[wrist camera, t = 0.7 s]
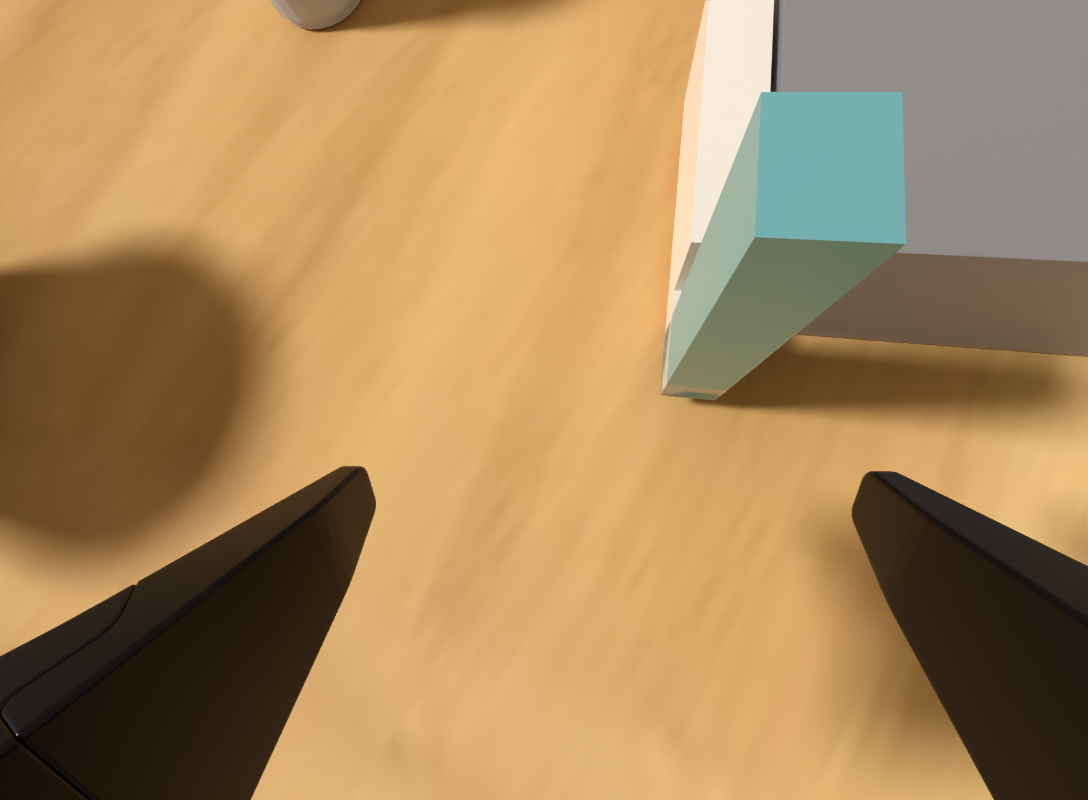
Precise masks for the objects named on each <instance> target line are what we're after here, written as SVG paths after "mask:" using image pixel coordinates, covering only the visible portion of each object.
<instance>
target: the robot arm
mask: <svg viewBox="0 0 1088 800" xmlns="http://www.w3.org/2000/svg"><path fill="white" fill-rule="evenodd" d="M375 508H376V500H375V496H374V492H373V489H372V486H371V483H370V479H369V476H368V473H367V471H366V469H365V468H364V467H361V466H343V467H340V468H338V469H336V470H334V471H333V472H331V473H329V474H327V475H326V476H324V477H322V478H320V479H319V480H317V481H315V482H313V483H311V484H310V485H308V486H306V487H304V488H303V489H301V490H299V491H297V492H296V493H294V494H292V495H290V496H289V497H287V498H285V499H283V500H281V501H280V502H278V503H276V504H274V505H273V506H271V507H269V508H267V509H266V510H264V511H262V512H260V513H258V514H257V515H255V516H253V517H251V518H250V519H248V520H246V521H244V522H243V523H241V524H239V525H237V526H235V527H234V528H232V529H230V530H228V531H227V532H225V533H223V534H221V535H220V536H218V537H216V538H214V539H213V540H211V541H209V542H207V543H205V544H204V545H202V546H200V547H198V548H197V549H195V550H193V551H191V552H190V553H188V554H186V555H184V556H182V557H181V558H179V559H177V560H175V561H174V562H172V563H170V564H168V565H167V566H165V567H163V568H161V569H159V570H158V571H156V572H154V573H152V574H151V575H149V576H147V577H145V578H144V579H142V580H140V581H139V582H138V583H137V585H131V586H129V587H127V588H126V589H124V590H122V591H120V592H119V593H117V594H115V595H113V596H112V597H110V598H108V599H106V600H105V601H103V602H101V603H99V604H97V605H95V606H94V607H92V608H90V609H88V610H86V611H85V612H83V613H81V614H79V615H77V616H76V617H74V618H72V619H70V620H68V621H66V622H65V623H63V624H61V625H59V626H57V627H55V628H53V629H52V630H50V631H48V632H46V633H44V634H42V635H40V636H38V637H36V638H34V639H32V640H31V641H29V642H27V643H25V644H23V645H21V646H19V647H17V648H15V649H13V650H11V651H9V652H8V653H6V654H4V655H2V656H0V800H251V798H252V796H253V794H254V792H255V789H256V787H257V785H258V783H259V781H260V779H261V776H262V774H263V772H264V770H265V768H266V766H267V763H268V761H269V759H270V757H271V755H272V752H273V750H274V748H275V746H276V744H277V742H278V739H279V737H280V735H281V733H282V731H283V729H284V726H285V724H286V722H287V720H288V718H289V716H290V713H291V711H292V709H293V707H294V705H295V703H296V700H297V698H298V696H299V694H300V692H301V690H302V687H303V685H304V683H305V681H306V679H307V677H308V674H309V672H310V670H311V668H312V666H313V664H314V661H315V659H316V657H317V655H318V653H319V651H320V648H321V646H322V644H323V642H324V640H325V638H326V635H327V633H328V631H329V629H330V627H331V625H332V622H333V620H334V618H335V616H336V614H337V612H338V609H339V607H340V605H341V603H342V601H343V599H344V596H345V594H346V592H347V589H348V587H349V585H350V582H351V580H352V577H353V574H354V572H355V569H356V566H357V563H358V560H359V557H360V554H361V551H362V548H363V545H364V542H365V539H366V536H367V533H368V531H369V528H370V525H371V522H372V519H373V516H374V513H375ZM852 519H853V522H854V525H855V527H856V530H857V532H858V535H859V537H860V539H861V542H862V544H863V547H864V549H865V551H866V554H867V556H868V559H869V561H870V564H871V566H872V568H873V571H874V573H875V576H876V578H877V580H878V583H879V585H880V588H881V590H882V592H883V594H884V597H885V599H886V601H887V603H888V605H889V607H890V609H891V611H892V613H893V615H894V617H895V619H896V621H897V623H898V624H899V626H900V628H901V630H902V632H903V634H904V635H905V637H906V639H907V641H908V643H909V645H910V646H911V648H912V650H913V652H914V654H915V656H916V658H917V659H918V661H919V663H920V665H921V667H922V669H923V670H924V672H925V674H926V676H927V678H928V680H929V681H930V683H931V685H932V687H933V689H934V691H935V692H936V694H937V696H938V698H939V700H940V702H941V703H942V705H943V707H944V709H945V711H946V713H947V714H948V716H949V718H950V720H951V722H952V724H953V726H954V727H955V729H956V731H957V733H958V735H959V737H960V738H961V740H962V742H963V744H964V746H965V748H966V749H967V751H968V753H969V755H970V757H971V759H972V760H973V762H974V764H975V766H976V768H977V770H978V771H979V773H980V775H981V777H982V779H983V781H984V782H985V784H986V786H987V788H988V790H989V792H990V794H991V795H992V797H993V799H994V800H1088V566H1086V565H1084V564H1082V563H1080V562H1078V561H1076V560H1074V559H1072V558H1070V557H1068V556H1066V555H1064V554H1062V553H1060V552H1058V551H1056V550H1054V549H1052V548H1050V547H1048V546H1046V545H1044V544H1042V543H1040V542H1038V541H1035V540H1033V539H1031V538H1029V537H1027V536H1025V535H1023V534H1021V533H1019V532H1017V531H1015V530H1013V529H1011V528H1009V527H1007V526H1005V525H1003V524H1001V523H999V522H997V521H995V520H993V519H991V518H989V517H987V516H985V515H983V514H981V513H978V512H976V511H974V510H972V509H970V508H968V507H966V506H964V505H962V504H960V503H958V502H956V501H954V500H952V499H950V498H948V497H946V496H944V495H942V494H940V493H938V492H936V491H934V490H932V489H930V488H928V487H926V486H924V485H921V484H919V483H917V482H915V481H913V480H911V479H909V478H907V477H905V476H903V475H901V474H899V473H897V472H891V471H871V472H868V473H866V474H865V475H864V477H863V479H862V481H861V484H860V487H859V490H858V492H857V495H856V498H855V501H854V504H853V507H852Z"/></svg>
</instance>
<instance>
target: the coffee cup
mask: <svg viewBox="0 0 1088 800" xmlns="http://www.w3.org/2000/svg"><path fill="white" fill-rule="evenodd" d="M270 2H271V3H272V4H273V6H274V7H275V8H276V10H277V11H278V12H279V13H280V14H281V15H282V17H284V18H286V19H288V20H290V21H291V22H292V23H293V24H294V25H296V26H298V27H300V28H304V29H309V30H314V29H323V28H327V27H331V26H333V25H335V24H337V23H339V22H341V21H342V20H343V19H345V18H346V17H347V16H349V15H350V14H351V13H352V12H353V10H354V9H355V8H356V7H357V6H358V4H359V2H360V0H270Z"/></svg>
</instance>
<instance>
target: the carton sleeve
mask: <svg viewBox="0 0 1088 800" xmlns="http://www.w3.org/2000/svg"><path fill="white" fill-rule="evenodd" d="M771 92H902V96H903V138H904V180H905V222H906V245H904V246H903V247H902V248H901V249H899V250H898V251H897V252H896V253H895V254H893V255H892V256H891V257H890V258H888V259H887V260H886V261H885V262H884V263H882V264H881V265H880V266H879V267H877V268H876V269H875V270H874V271H873V272H871V273H870V274H869V275H868V276H866V277H865V278H864V279H863V280H862V281H860V282H859V283H858V284H857V285H855V286H854V287H853V288H852V289H851V290H849V291H848V292H847V293H846V294H845V295H843V296H842V297H841V298H840V299H838V300H837V301H836V302H835V303H834V304H832V305H831V306H830V307H829V308H827V309H826V310H825V311H824V312H823V313H821V314H820V315H819V316H818V317H816V318H815V319H814V320H813V321H812V322H810V323H809V324H808V325H807V326H805V327H804V328H803V329H802V330H801V331H799V332H798V333H797V334H798V335H811V336H824V337H838V338H851V339H864V340H878V341H891V342H904V343H918V344H931V345H944V346H958V347H971V348H984V349H998V350H1011V351H1024V352H1037V353H1051V354H1064V355H1077V356H1088V0H774V14H773V38H772V76H771Z"/></svg>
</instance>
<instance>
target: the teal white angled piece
mask: <svg viewBox="0 0 1088 800" xmlns="http://www.w3.org/2000/svg"><path fill="white" fill-rule="evenodd" d="M773 14H774V0H706V1H705V6H704V11H703V15H702V20H701V25H700V29H699V34H698V39H697V44H696V48H695V53H694V58H693V63H692V67H691V72H690V77H689V81H688V86H687V91H686V96H685V101H684V113H683V125H682V137H681V149H680V162H679V174H678V186H677V198H676V210H675V222H674V234H673V247H672V259H671V271H670V283H669V295H668V307H667V320H666V332H665V344H664V356H663V368H662V380H661V392H660V395H664V396H674V397H684V398H694V399H705V400H716V399H718V398H719V397H720V396H721V395H722V394H724V393H725V392H726V391H727V390H729V389H730V388H731V387H732V386H733V385H735V384H736V383H737V382H738V381H740V380H741V379H742V378H743V377H744V376H746V375H747V374H748V373H749V372H750V371H752V370H753V369H754V368H755V367H757V366H758V365H759V364H760V363H761V362H763V361H764V360H765V359H766V358H768V357H769V356H770V355H771V354H772V353H774V352H775V351H776V350H777V349H779V348H780V347H781V346H782V345H783V344H785V343H786V342H787V341H788V340H790V339H791V338H792V337H793V336H794V335H796V334H797V333H798V332H799V331H801V330H802V329H803V328H804V327H805V326H807V325H808V324H809V323H810V322H812V321H813V320H814V319H815V318H816V317H818V316H819V315H820V314H821V313H823V312H824V311H825V310H826V309H827V308H829V307H830V306H831V305H832V304H834V303H835V302H836V301H837V300H838V299H840V298H841V297H842V296H843V295H845V294H846V293H847V292H848V291H849V290H851V289H852V288H853V287H854V286H855V285H857V284H858V283H859V282H860V281H862V280H863V279H864V278H865V277H866V276H868V275H869V274H870V273H871V272H873V271H874V270H875V269H876V268H877V267H879V266H880V265H881V264H882V263H884V262H885V261H886V260H887V259H888V258H890V257H891V256H892V255H893V254H895V253H896V252H897V251H898V250H899V249H901V248H902V247H903V246H904V245H906V222H905V180H904V138H903V96H902V92H771V76H772V38H773Z"/></svg>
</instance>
